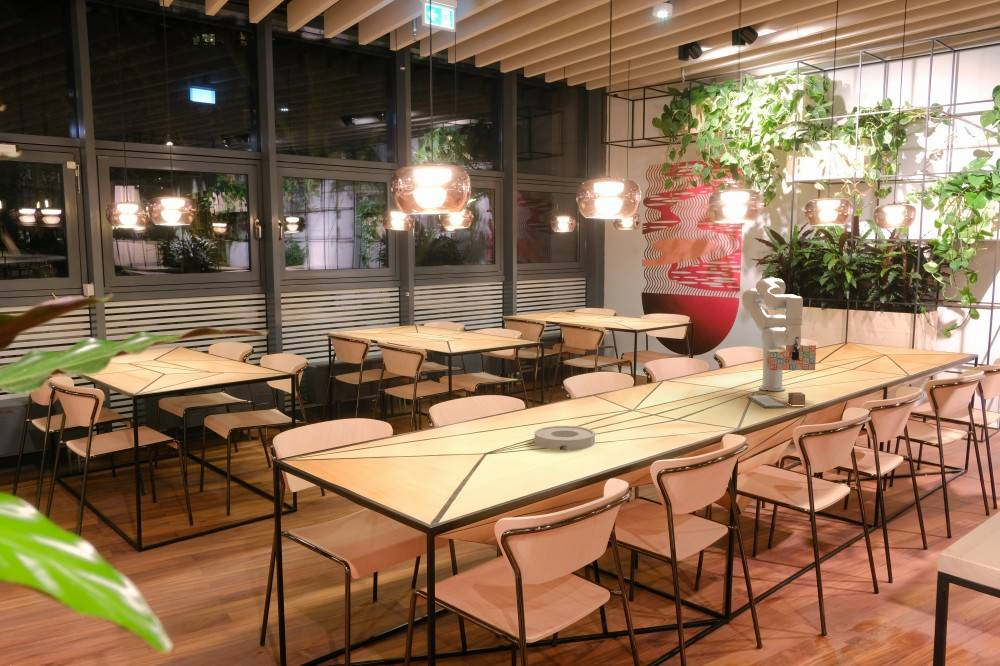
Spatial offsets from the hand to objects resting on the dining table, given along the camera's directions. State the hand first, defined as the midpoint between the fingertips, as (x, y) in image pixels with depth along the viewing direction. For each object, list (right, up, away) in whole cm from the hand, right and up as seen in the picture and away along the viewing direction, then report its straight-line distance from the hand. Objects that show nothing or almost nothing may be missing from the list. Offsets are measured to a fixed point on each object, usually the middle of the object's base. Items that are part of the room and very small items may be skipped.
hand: (792, 358), depth 374 cm
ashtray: (-116, -30, -78) cm, 143 cm away
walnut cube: (-5, -21, -17) cm, 28 cm away
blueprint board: (-16, -20, -10) cm, 28 cm away
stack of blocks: (-1, -5, +1) cm, 6 cm away
